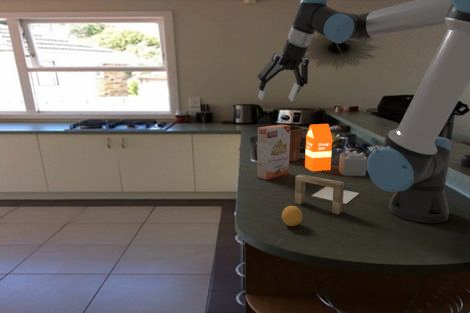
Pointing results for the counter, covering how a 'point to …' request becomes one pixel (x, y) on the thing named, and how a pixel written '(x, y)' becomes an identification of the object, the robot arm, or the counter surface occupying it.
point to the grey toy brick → (353, 163)
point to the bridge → (337, 185)
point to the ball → (292, 216)
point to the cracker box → (273, 151)
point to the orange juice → (318, 147)
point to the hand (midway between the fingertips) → (275, 99)
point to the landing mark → (328, 194)
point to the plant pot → (295, 142)
